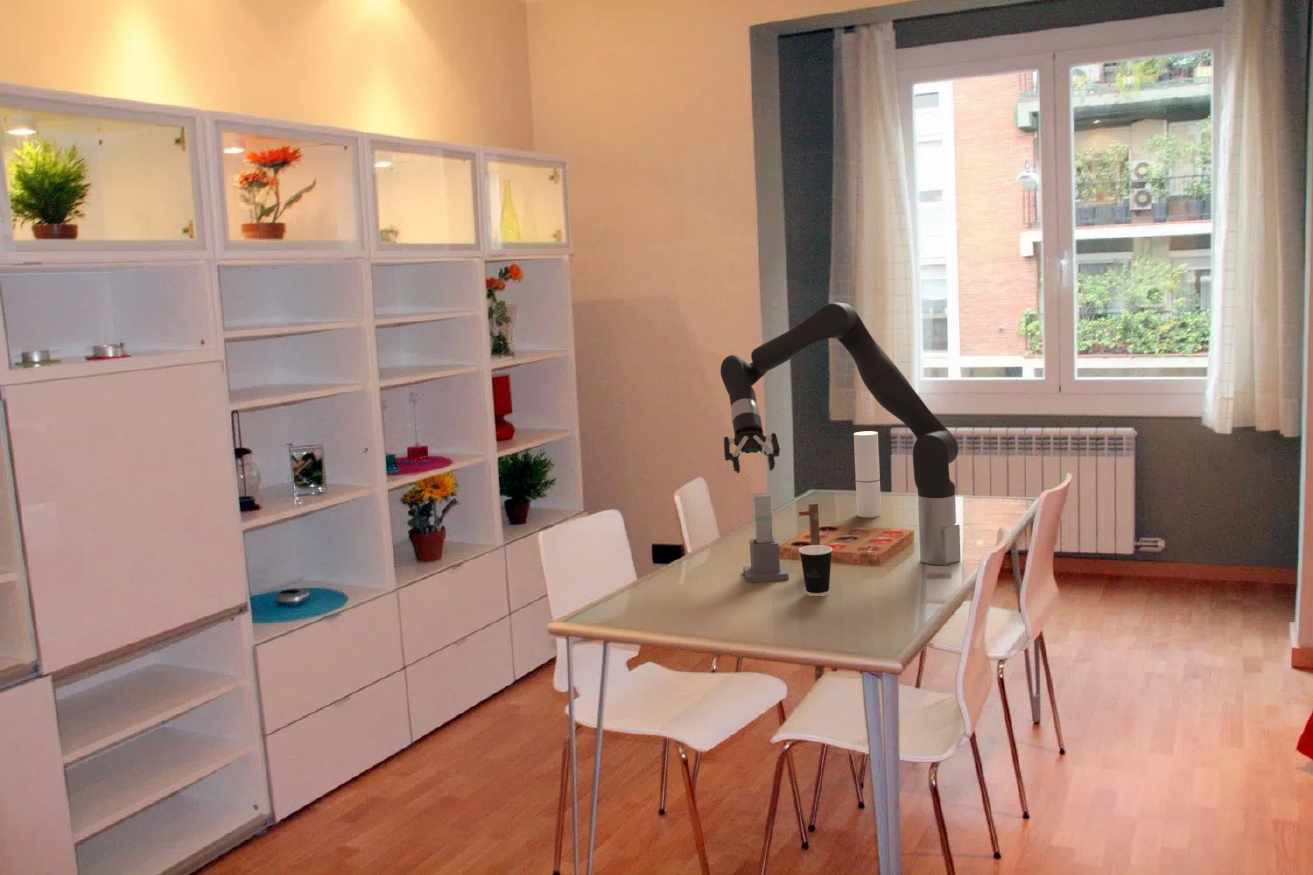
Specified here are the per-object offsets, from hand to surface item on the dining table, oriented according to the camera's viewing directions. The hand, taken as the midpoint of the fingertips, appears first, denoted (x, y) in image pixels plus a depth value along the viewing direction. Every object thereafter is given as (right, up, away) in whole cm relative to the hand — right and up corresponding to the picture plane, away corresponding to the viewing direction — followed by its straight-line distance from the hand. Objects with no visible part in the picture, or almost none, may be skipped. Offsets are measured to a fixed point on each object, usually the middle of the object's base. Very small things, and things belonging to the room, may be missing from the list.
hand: (755, 470), depth 295 cm
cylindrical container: (+39, -15, +53) cm, 68 cm away
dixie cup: (+13, -29, -22) cm, 39 cm away
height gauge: (+15, -26, -4) cm, 30 cm away
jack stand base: (+2, -27, -4) cm, 27 cm away
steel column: (+2, -20, -5) cm, 21 cm away
